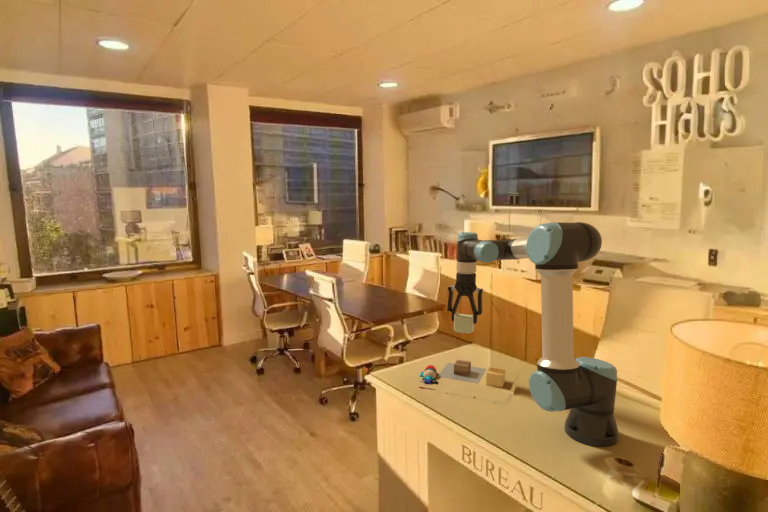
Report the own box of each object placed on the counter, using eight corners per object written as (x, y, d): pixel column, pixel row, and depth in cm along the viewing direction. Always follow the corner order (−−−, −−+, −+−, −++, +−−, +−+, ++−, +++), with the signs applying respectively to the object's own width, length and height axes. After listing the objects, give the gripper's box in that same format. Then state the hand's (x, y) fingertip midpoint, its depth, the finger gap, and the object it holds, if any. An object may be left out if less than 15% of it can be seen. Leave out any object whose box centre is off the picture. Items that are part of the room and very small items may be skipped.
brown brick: (467, 376, 187) (467, 366, 187) (453, 374, 189) (454, 364, 189) (470, 371, 193) (471, 361, 192) (457, 368, 195) (457, 359, 194)
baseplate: (477, 386, 181) (478, 383, 181) (437, 379, 187) (437, 376, 187) (486, 371, 196) (486, 368, 195) (447, 365, 202) (447, 362, 201)
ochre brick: (502, 390, 177) (502, 375, 177) (485, 388, 180) (486, 372, 179) (504, 384, 183) (505, 369, 182) (488, 382, 185) (489, 367, 184)
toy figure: (437, 394, 178) (440, 372, 192) (436, 382, 176) (439, 361, 190) (417, 393, 179) (421, 372, 193) (416, 382, 178) (420, 361, 192)
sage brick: (469, 333, 185) (470, 318, 184) (454, 331, 187) (455, 316, 186) (472, 330, 190) (473, 315, 189) (457, 328, 192) (458, 313, 191)
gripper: (492, 272, 185) (489, 330, 188) (444, 268, 192) (443, 324, 196) (489, 275, 178) (486, 336, 182) (439, 271, 185) (437, 329, 189)
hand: (463, 330), depth 189 cm, fingers closed on sage brick, 6 cm apart
